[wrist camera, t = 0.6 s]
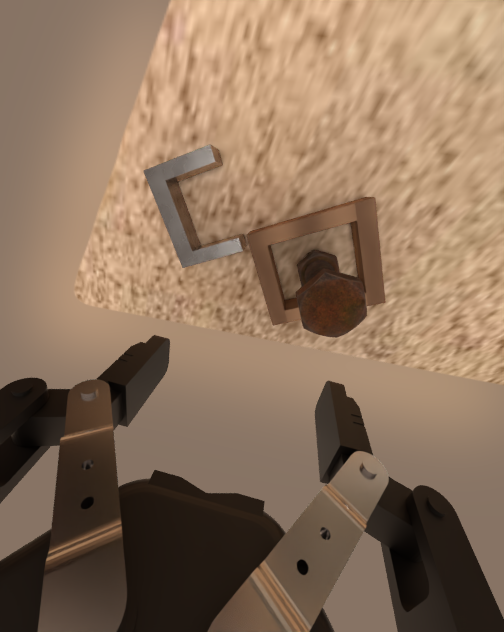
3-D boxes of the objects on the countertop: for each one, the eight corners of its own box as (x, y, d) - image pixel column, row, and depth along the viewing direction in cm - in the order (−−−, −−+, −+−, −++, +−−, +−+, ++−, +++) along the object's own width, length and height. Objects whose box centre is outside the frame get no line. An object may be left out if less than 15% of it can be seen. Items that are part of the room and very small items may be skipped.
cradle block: (218, 149, 30) (210, 144, 26) (246, 245, 34) (242, 251, 31) (157, 172, 31) (143, 170, 28) (192, 261, 36) (182, 267, 33)
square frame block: (366, 197, 30) (375, 197, 27) (376, 292, 34) (385, 302, 31) (250, 231, 33) (246, 235, 30) (274, 314, 38) (272, 325, 34)
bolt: (343, 249, 33) (383, 289, 19) (329, 286, 35) (354, 344, 21) (299, 237, 33) (307, 268, 19) (287, 274, 35) (286, 326, 21)
